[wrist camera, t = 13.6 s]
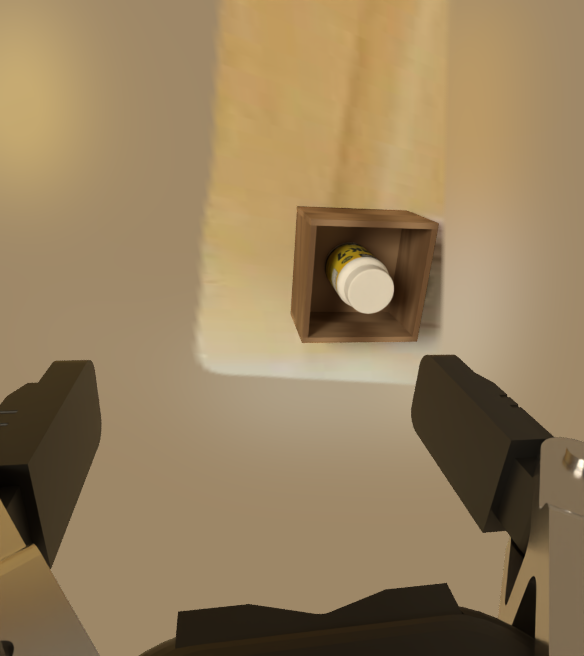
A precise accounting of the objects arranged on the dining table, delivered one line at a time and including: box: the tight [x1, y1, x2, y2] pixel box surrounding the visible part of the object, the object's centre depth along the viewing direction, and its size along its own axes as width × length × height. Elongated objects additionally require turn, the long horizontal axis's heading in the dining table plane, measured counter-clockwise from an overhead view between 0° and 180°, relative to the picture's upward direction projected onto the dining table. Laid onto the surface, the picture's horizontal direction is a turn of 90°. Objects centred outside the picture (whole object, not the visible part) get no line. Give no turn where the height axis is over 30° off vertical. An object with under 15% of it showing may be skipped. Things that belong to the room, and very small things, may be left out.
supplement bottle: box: [324, 242, 394, 314], centre depth 41 cm, size 5×5×8 cm
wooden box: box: [291, 206, 439, 343], centre depth 42 cm, size 11×11×7 cm
